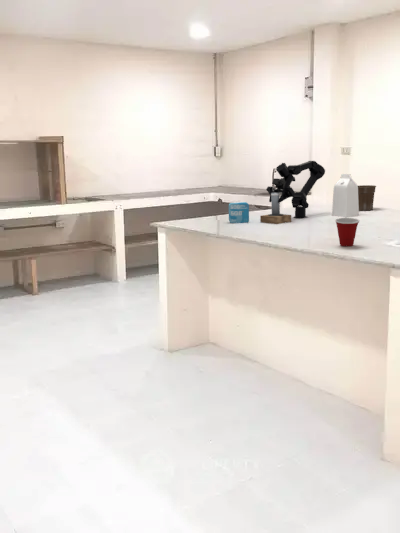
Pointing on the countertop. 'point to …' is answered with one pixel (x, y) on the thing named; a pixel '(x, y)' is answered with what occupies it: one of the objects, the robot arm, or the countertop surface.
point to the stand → (275, 218)
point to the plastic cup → (346, 230)
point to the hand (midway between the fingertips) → (274, 202)
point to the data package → (239, 212)
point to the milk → (345, 197)
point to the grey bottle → (275, 203)
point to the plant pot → (366, 197)
